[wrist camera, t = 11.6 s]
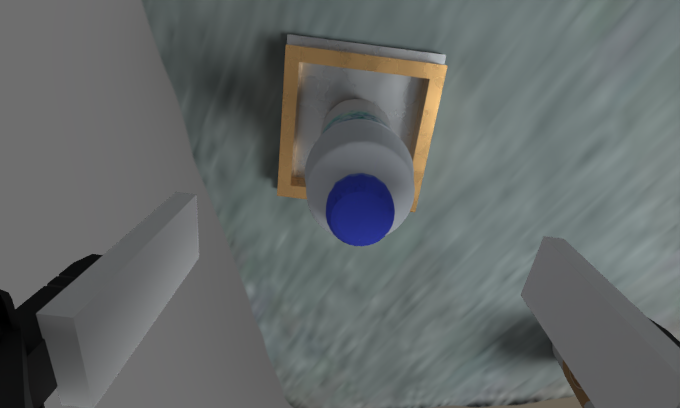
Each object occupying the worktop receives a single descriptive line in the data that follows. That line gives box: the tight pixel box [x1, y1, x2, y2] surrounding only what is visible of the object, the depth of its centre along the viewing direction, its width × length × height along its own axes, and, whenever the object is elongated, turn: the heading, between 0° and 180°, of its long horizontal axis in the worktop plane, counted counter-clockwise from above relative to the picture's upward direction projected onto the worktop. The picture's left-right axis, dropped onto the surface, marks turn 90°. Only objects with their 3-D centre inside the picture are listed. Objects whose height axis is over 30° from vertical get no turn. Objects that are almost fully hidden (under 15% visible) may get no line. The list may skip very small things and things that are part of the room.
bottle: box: [305, 99, 415, 246], centre depth 26 cm, size 7×7×20 cm
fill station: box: [277, 34, 447, 212], centre depth 35 cm, size 15×14×4 cm
